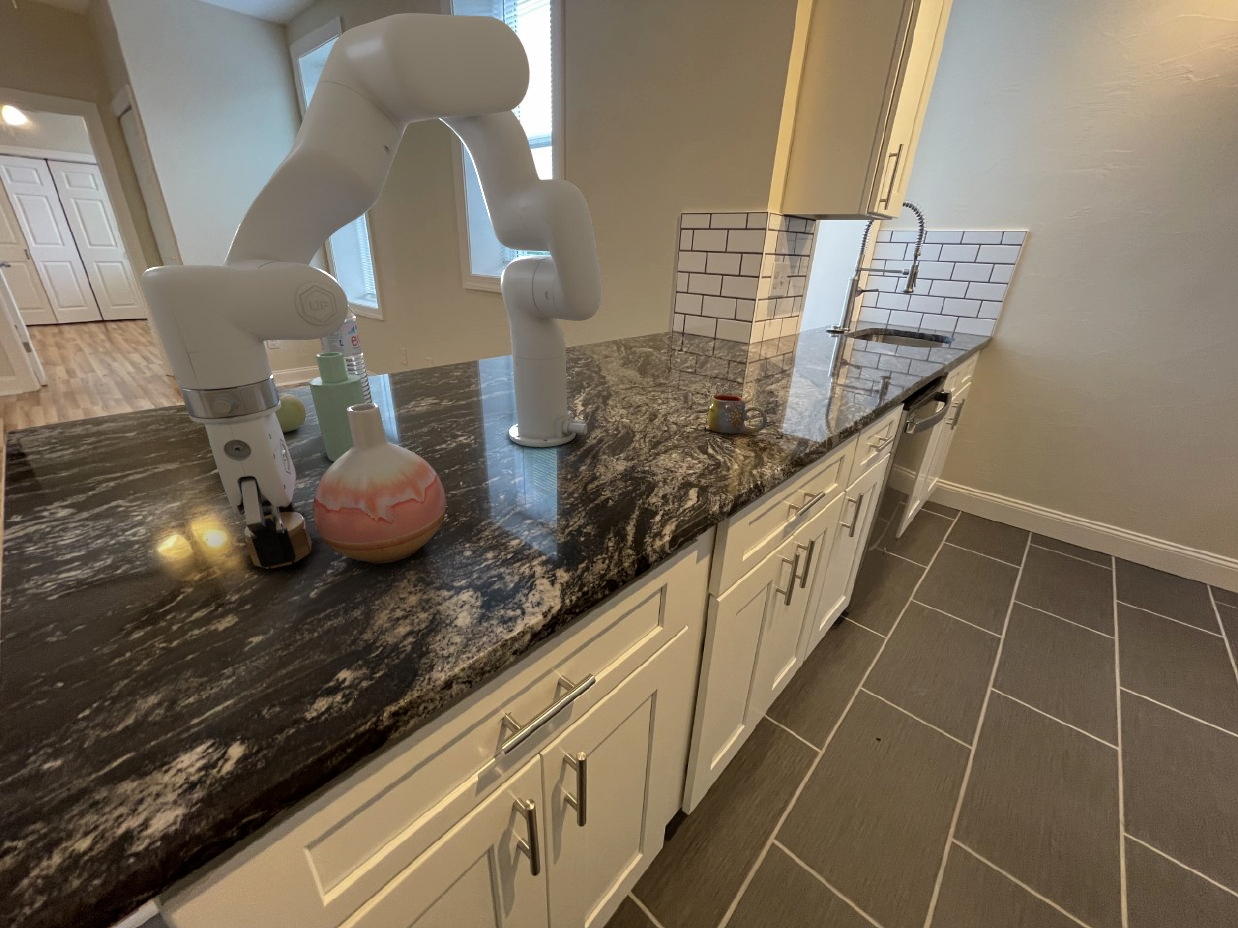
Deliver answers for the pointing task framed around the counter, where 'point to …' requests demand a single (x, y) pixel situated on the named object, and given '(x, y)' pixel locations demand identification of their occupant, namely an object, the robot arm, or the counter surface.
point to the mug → (731, 415)
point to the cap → (296, 533)
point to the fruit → (290, 412)
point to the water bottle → (349, 350)
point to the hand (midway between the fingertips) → (281, 546)
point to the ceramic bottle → (335, 402)
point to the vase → (377, 496)
